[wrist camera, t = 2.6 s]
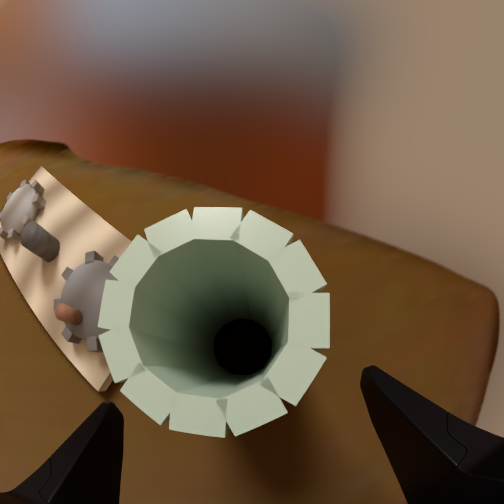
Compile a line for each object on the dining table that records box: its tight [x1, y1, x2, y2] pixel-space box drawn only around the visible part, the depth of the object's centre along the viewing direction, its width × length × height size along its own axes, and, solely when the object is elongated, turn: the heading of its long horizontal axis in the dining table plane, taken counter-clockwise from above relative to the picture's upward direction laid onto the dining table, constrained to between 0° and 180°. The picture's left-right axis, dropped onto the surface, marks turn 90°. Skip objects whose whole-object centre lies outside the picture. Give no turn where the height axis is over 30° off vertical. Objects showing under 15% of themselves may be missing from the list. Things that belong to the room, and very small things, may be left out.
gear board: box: [0, 166, 131, 392], centre depth 20 cm, size 25×11×5 cm, turn 57°
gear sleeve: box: [98, 207, 330, 438], centre depth 13 cm, size 8×8×13 cm
